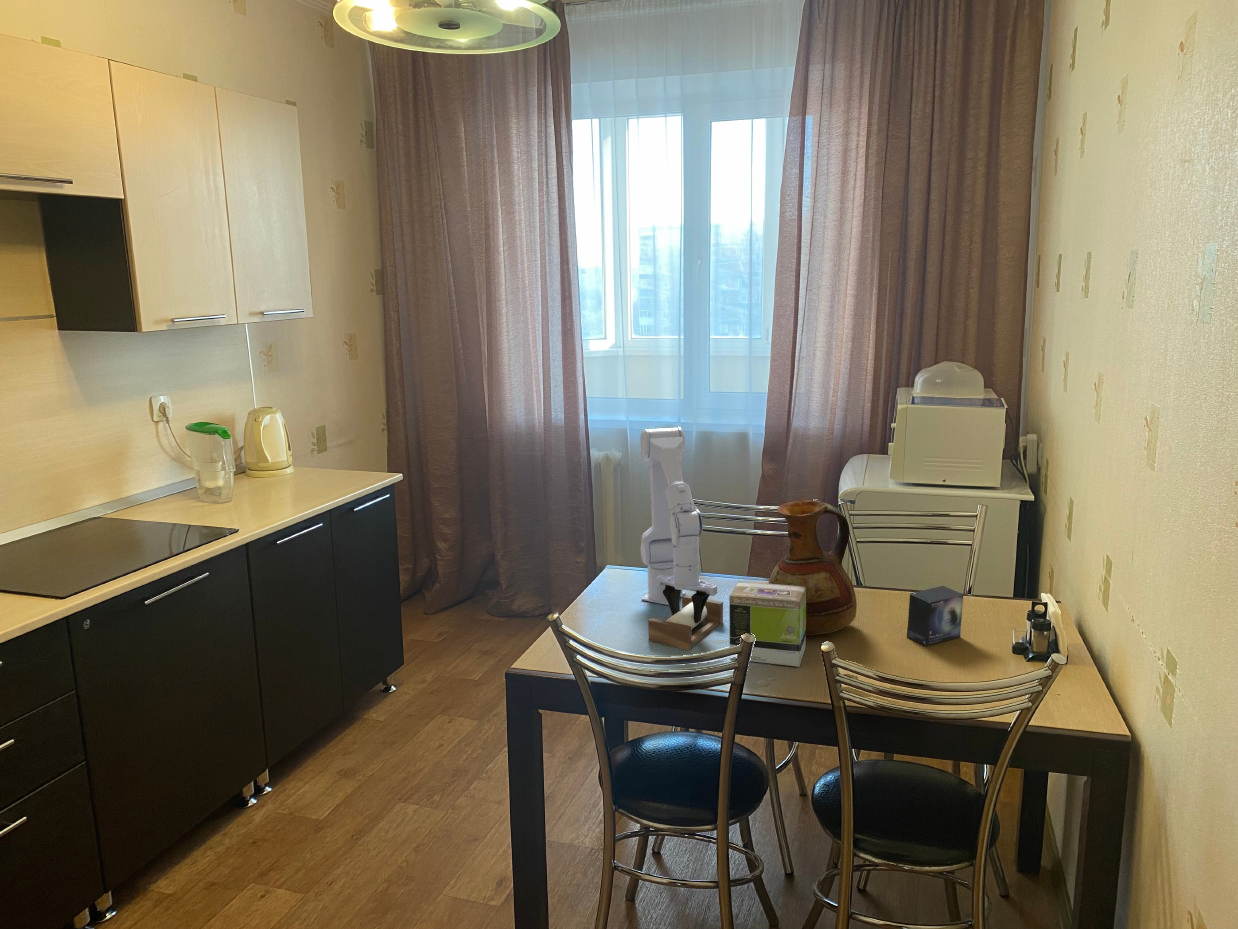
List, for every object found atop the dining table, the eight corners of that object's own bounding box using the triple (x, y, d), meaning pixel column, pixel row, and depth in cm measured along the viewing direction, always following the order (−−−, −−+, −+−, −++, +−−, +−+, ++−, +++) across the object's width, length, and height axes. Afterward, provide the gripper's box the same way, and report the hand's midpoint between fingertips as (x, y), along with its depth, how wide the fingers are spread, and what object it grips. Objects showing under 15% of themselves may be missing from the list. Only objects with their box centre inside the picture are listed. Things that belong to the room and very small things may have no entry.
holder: (685, 614, 217) (684, 594, 216) (722, 622, 212) (723, 601, 211) (648, 641, 202) (648, 620, 201) (688, 650, 197) (688, 628, 196)
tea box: (806, 649, 196) (807, 585, 193) (799, 669, 187) (801, 601, 184) (737, 641, 201) (738, 578, 198) (728, 660, 192) (728, 594, 189)
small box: (927, 647, 196) (930, 602, 193) (905, 637, 201) (907, 593, 199) (962, 638, 200) (965, 593, 198) (939, 628, 206) (942, 584, 204)
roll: (693, 623, 213) (685, 603, 213) (710, 618, 210) (702, 598, 210) (668, 641, 202) (660, 621, 202) (686, 637, 199) (678, 616, 200)
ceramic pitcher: (754, 615, 216) (756, 494, 209) (832, 607, 220) (836, 488, 213) (786, 648, 197) (788, 516, 190) (871, 638, 201) (876, 509, 194)
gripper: (649, 563, 204) (650, 619, 207) (707, 573, 196) (707, 631, 199) (664, 554, 210) (665, 609, 213) (721, 564, 202) (721, 620, 205)
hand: (686, 619), depth 206 cm, fingers closed on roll, 5 cm apart
